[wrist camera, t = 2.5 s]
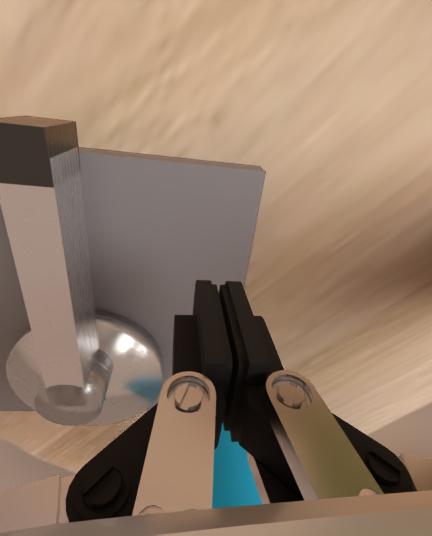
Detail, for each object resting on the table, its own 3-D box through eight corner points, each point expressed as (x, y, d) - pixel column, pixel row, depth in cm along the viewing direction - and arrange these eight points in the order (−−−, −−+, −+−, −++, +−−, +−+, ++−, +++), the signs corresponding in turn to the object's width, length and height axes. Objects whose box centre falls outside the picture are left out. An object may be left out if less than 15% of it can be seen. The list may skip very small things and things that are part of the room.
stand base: (259, 166, 17) (268, 174, 15) (218, 395, 27) (221, 417, 25) (-144, 123, 14) (-193, 126, 13) (-28, 394, 24) (-46, 418, 22)
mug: (211, 469, 33) (217, 570, 26) (164, 436, 29) (156, 544, 22) (307, 425, 30) (344, 525, 23) (269, 383, 27) (298, 487, 19)
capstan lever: (172, 129, 14) (165, 141, 10) (161, 407, 24) (156, 467, 20) (-57, 103, 13) (-166, 103, 9) (32, 407, 23) (-1, 471, 19)
